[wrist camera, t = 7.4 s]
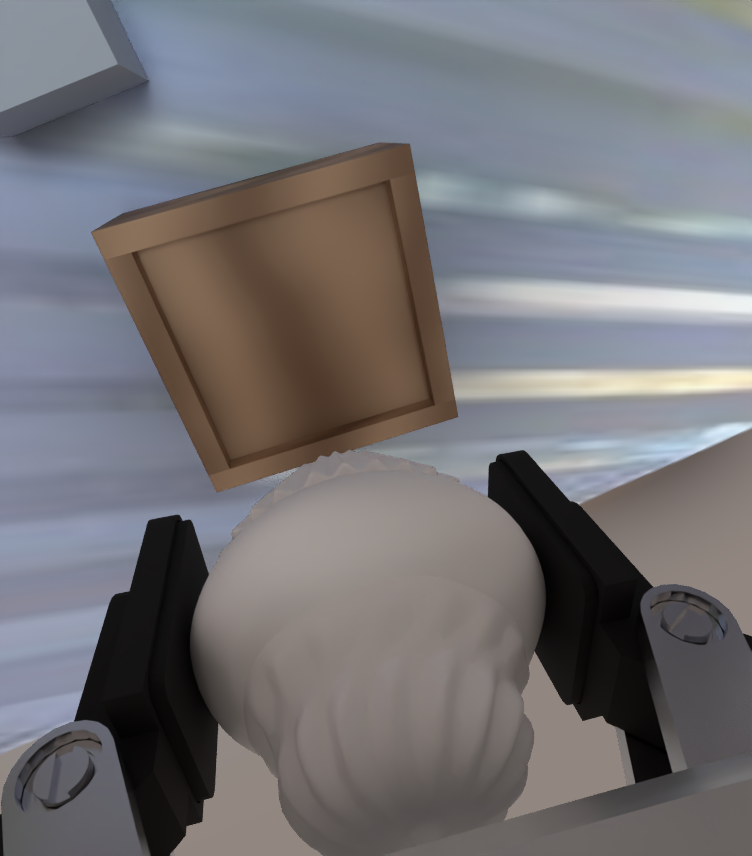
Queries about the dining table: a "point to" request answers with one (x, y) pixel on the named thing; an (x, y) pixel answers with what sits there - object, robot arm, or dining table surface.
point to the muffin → (375, 651)
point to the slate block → (60, 60)
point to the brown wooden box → (289, 311)
